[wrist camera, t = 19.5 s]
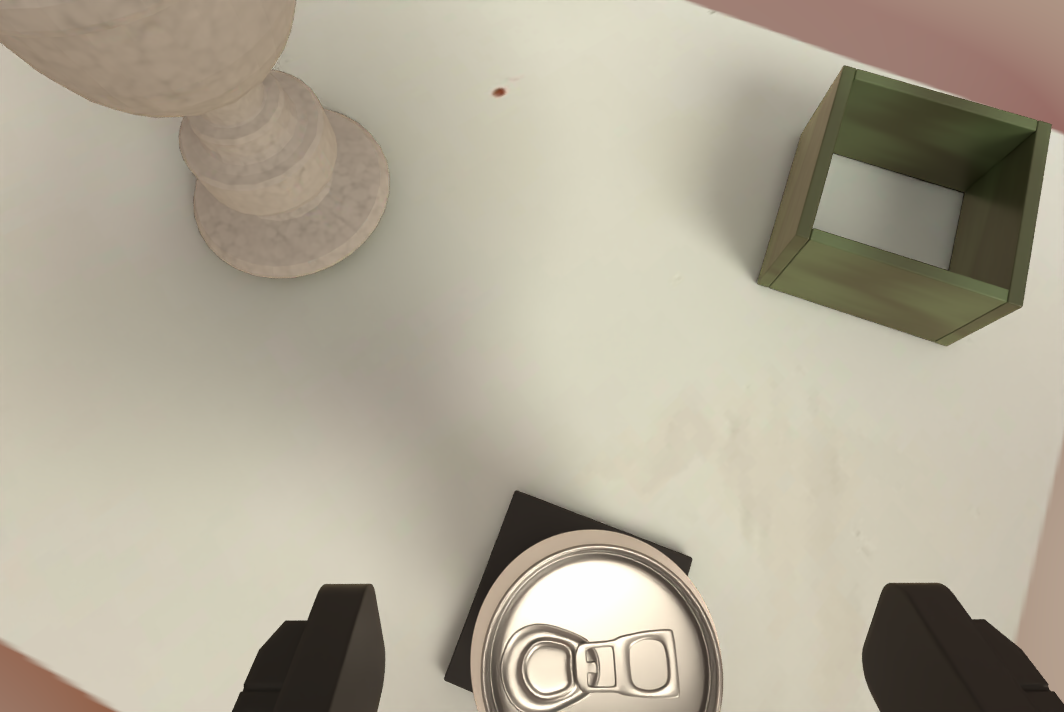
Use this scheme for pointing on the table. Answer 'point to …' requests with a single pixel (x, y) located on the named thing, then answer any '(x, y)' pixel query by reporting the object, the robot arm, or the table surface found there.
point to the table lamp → (221, 119)
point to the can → (595, 632)
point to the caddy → (929, 154)
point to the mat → (518, 533)
